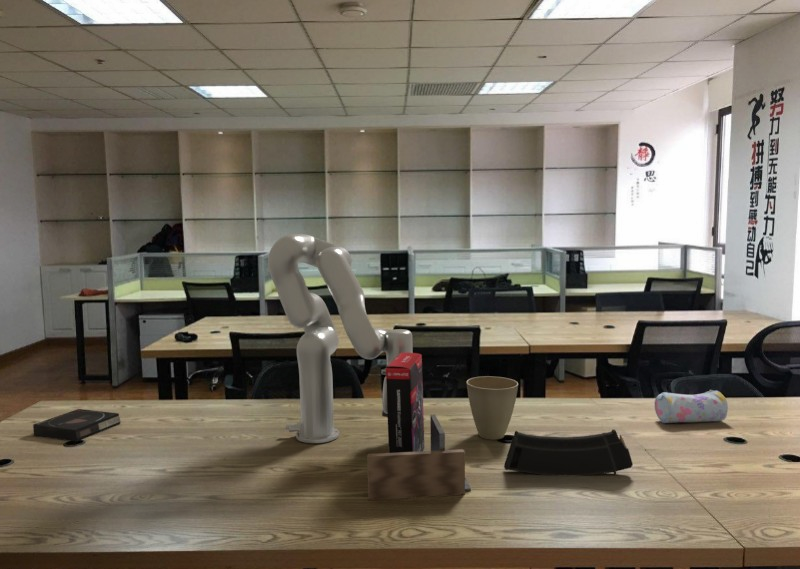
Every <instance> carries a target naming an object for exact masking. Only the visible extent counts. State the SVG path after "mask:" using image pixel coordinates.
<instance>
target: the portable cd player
mask: <svg viewBox="0 0 800 569" xmlns="http://www.w3.org/2000/svg"><path fill="white" fill-rule="evenodd" d="M120 424H121V418H120V414H119V412H118V413H117V412H109V411H99V410H91V409H82V408H77V409H74V410H71V411H68V412H66V413H62V414H59V415H57V416H53V417H51V418H47V419H45V420H42V421H40V422H36V423H34V424H32V426H33V427H32V428H33V436H34V437H40V438H45V439H54V440H60V441H68V442H70V441H71V442H80V441H81V440H84V439H86V438H89V437H92V436H94V435H97V434H99V433H102V432H104V431H106V430H109V429H112V428H115V427H116V426H119V425H120Z"/></svg>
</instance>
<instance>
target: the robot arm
mask: <svg viewBox="0 0 800 569" xmlns="http://www.w3.org/2000/svg"><path fill="white" fill-rule="evenodd" d="M300 263H301V264H302V263H303V264H306V265H309V266H312V267H316V268H317V269H318V271H319V274H320V275H321V277H322V279H323V282H324V283H325V285H326V287H327V288H328V291H329V292H330V294H331V297H332V298H333V301H334V302H335V304H336V307H337V311H338V314H339V317H340V320H341V324H342V326H343V329H344V332H345V333H346V336H347V337H348V339H349V341H350V343H351V345H352V347H353V348H354V351H355V352H356V353H357V354H358V355H359V356H360V357H361V358H362V359H365V360H374V359H376V358H377V357H379V356H380V355H381V354H382V353H385V355H386V366H387V365H388V364H389V363H390V362H391V361H392V360H393V359H394V358H395V357H397V356H398V355H399V353H400V352H401V353H414V352H413V350H414V349H413V345H414V344H413V333H412V332H411V331H410V330H408V329H402V328H399V329H398V328H397V329H396V328H395V329H387V328H380V327H373V325H372V323H371V321H370V319H369V317H368V314H367V311H366V305H365V293H364V290H363V288H362V286H361V284H360V282H359V280H358V279H357V277H356V274H355V273H354V270H352V267H351V266H352V257H351V254H350V253H349V251H348V250H347V249H346V248H344V247H342V246H340V245H338V244H337V245H336V244H334V243H331V242H328V241H326V240H324V239H323V240H322V239H320V238H317V237H315V236H313V235H309V234H305V233H290V234H286V235H283V236H282V237H280V238H279V239H277V240H276V241H275V243H274V244H273V245H272V247H271V248H270V250H269V253H268V258H267V267H268V271H269V275H270V277H271V280H272V282H273V285H274V287H275V291H276V292H277V295H278V298H279V301H280V303H281V305H282V308H283V310H284V313H285V317H286V318H287V320H288V322H289V324H290V325H291V326H293V327H295V328H297V329H303V332H304V334H302V336H301V337H300V338H299V340H298V342H297V345H296V358H297V364H298V374H299V375H298V376H299V398H300V399H299V400H300V402H299V403H300V405H299V406H300V420H299V421H297V422H296V423H290V422H288V423H285V431H288V432H289V433H294V432H296V433H295V439H296V440H297V441H299V442H302V443H305V444H321V443H328V442H331V441H334V440H336V439H338V437H339V436H340V431H339V429H338V428H336V427H334V422H335V421H334V388H333V386H334V385H333V383H334V382H333V370H332V369H333V368H332V363H331V355H333V354H334V353H335V352H336V351H337V348H338V347H339V343H340V340H339V338H340V337H339V335H338V331H337V329H336V326H335V324H334V322H333V318H332V316H331V315H330V314H331V313H330V312H329V308H328V307H327V305H326V303H325V301H324V300H323V298H322V297H321V296H320V295H318V294H316V293H314V292H310V290H309V289H308V286H307V284H306V280H305V278H304V276H303V275H302V273H301V270H299V265H298V264H300ZM381 375H385V377H384V380H383V384H382V385H383V386H382V398H381V400H382V401H381V402H382V404H381V405H382V411H381V416H382V417H385V418H388V415H387V384H386V368H383V369H381Z"/></svg>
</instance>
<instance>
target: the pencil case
mask: <svg viewBox="0 0 800 569" xmlns="http://www.w3.org/2000/svg"><path fill="white" fill-rule="evenodd" d="M728 410H729V408H728V402H727V398H726V397H725V396H724V395H723V394H722V392H720V391H719V390H713V389H709V391H705V392H702V393H697V394H683V393H673V392H666V391H665V392H661V393H660V394H658V395H657V396H656V397H655V400H654V411H655V414H656V416H657V418H658V419H659V421H660V422H661V423H662V424H673V423H674V424H675V423H703V422H707V423H708V422H723V421H724V420H725V419H726V418H727V415H728Z"/></svg>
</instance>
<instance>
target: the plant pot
mask: <svg viewBox="0 0 800 569" xmlns="http://www.w3.org/2000/svg"><path fill="white" fill-rule="evenodd" d="M518 388H519V383H518V381H516V380H515V379H512V378H508V377H502V376H489V375H487V376H486V375H485V376H483V375H482V376H476V377H471V378H468V379H467V380H466V389H467V396H468V402H469V407H470V410H471V415H472V419H473V422H474V425H475V429H476V431H477V434H478V437H479V438H482V439H486V440H490V441H491V440H493V441H494V440H501V439H504V437H505V436H506V433H507V430H508V428H509V425H510V422H511V419H512V416H513V412H514V408H515V404H516V400H517V395H518V390H519V389H518Z"/></svg>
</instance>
